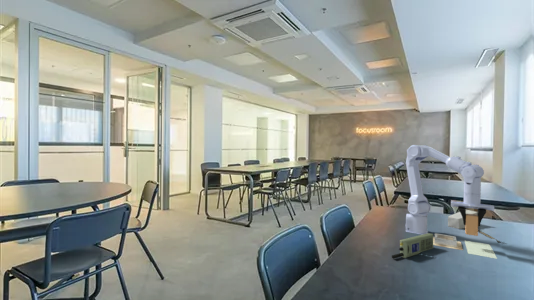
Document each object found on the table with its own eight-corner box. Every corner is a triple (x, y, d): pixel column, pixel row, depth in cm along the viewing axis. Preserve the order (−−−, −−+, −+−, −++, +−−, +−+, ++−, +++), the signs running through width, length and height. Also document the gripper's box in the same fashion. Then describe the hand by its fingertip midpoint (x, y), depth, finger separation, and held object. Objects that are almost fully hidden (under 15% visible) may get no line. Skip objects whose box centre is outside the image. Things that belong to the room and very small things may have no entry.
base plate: (428, 245, 118) (428, 244, 118) (429, 237, 128) (429, 236, 128) (462, 251, 111) (462, 250, 111) (460, 243, 121) (460, 241, 121)
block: (459, 230, 142) (460, 215, 142) (443, 226, 149) (444, 211, 149) (478, 225, 151) (479, 211, 150) (462, 222, 158) (463, 208, 158)
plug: (465, 234, 114) (466, 215, 114) (465, 231, 117) (465, 213, 117) (477, 236, 112) (478, 216, 112) (476, 233, 115) (477, 214, 115)
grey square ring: (434, 243, 118) (434, 238, 118) (434, 238, 125) (434, 233, 125) (456, 247, 114) (456, 241, 114) (455, 242, 121) (455, 236, 121)
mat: (467, 254, 108) (468, 253, 108) (464, 241, 123) (464, 240, 123) (497, 260, 103) (497, 258, 103) (489, 245, 118) (489, 244, 118)
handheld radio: (435, 250, 113) (397, 262, 101) (427, 248, 116) (389, 259, 104) (434, 234, 113) (396, 244, 101) (426, 232, 116) (389, 241, 104)
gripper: (451, 192, 115) (451, 224, 115) (495, 196, 107) (495, 230, 107) (451, 190, 121) (450, 221, 121) (492, 194, 113) (492, 226, 113)
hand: (471, 225), depth 114 cm, fingers closed on plug, 4 cm apart
